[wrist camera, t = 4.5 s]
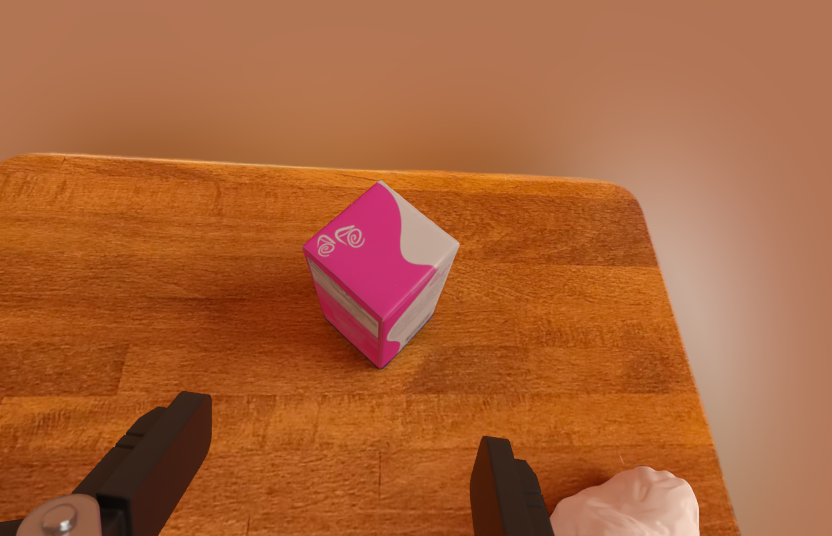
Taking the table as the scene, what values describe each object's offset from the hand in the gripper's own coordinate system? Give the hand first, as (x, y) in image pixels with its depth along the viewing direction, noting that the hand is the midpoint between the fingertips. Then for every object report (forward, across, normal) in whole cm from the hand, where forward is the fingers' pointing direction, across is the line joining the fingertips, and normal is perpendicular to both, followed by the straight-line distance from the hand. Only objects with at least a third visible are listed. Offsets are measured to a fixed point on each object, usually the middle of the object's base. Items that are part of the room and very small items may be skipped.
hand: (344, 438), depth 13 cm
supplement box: (+18, 0, +5) cm, 19 cm away
